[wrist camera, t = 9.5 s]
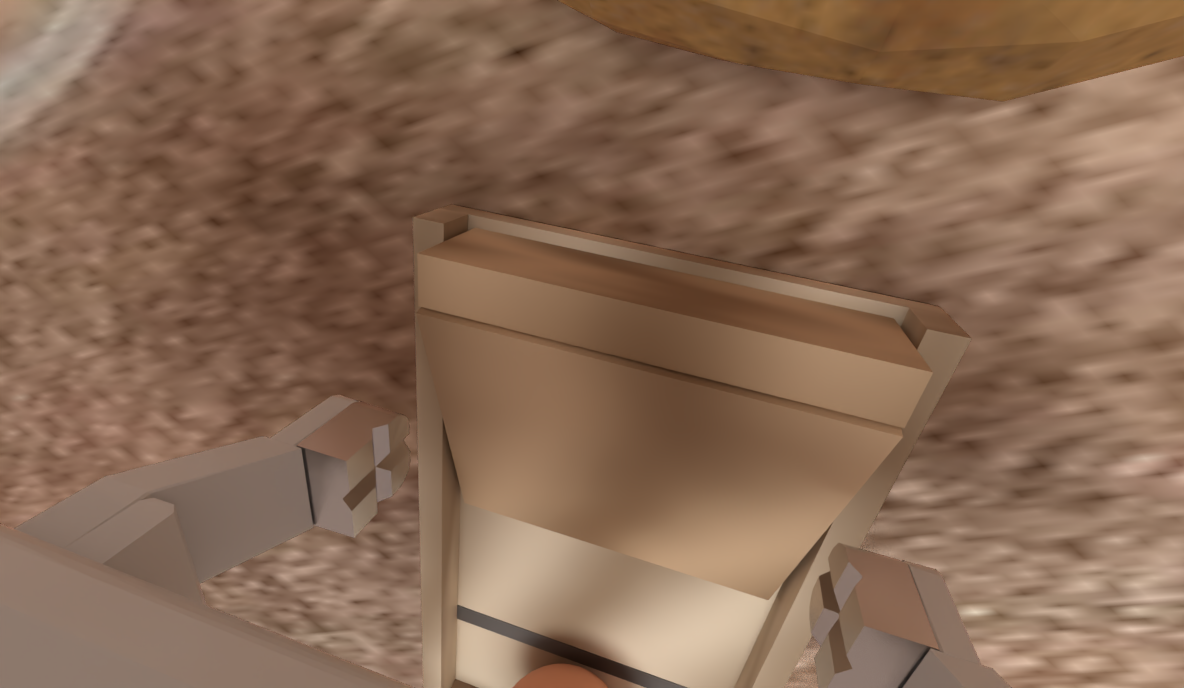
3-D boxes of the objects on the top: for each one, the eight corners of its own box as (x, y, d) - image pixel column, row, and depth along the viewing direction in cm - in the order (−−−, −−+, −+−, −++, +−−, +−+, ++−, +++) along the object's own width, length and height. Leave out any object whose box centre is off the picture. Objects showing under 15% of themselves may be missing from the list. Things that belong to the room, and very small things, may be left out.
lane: (446, 670, 23) (397, 762, 20) (452, 204, 13) (361, 233, 10) (710, 773, 21) (704, 893, 18) (938, 305, 11) (1016, 383, 8)
